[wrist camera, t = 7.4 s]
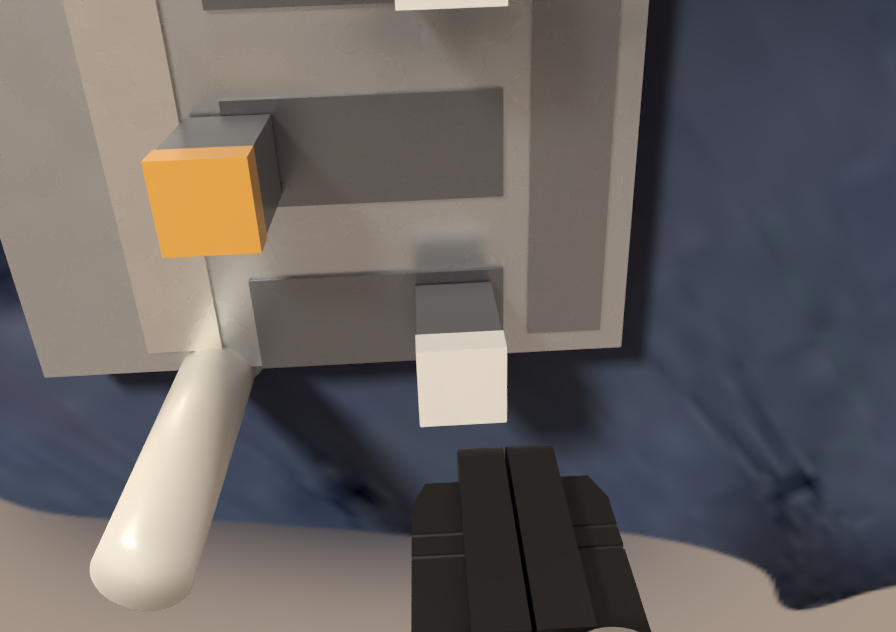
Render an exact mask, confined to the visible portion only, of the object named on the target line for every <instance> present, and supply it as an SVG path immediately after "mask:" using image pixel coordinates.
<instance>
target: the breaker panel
mask: <svg viewBox="0 0 896 632" xmlns="http://www.w3.org/2000/svg"><path fill="white" fill-rule="evenodd" d="M648 7H649V0H508V6H500V7H476V8H451V9H427V10H403V11H395V0H0V239H1V242H2V245H3V248H4V251H5V255H6V258H7V261H8V264H9V267H10V270H11V273H12V277H13V280H14V283H15V286H16V289H17V292H18V295H19V298H20V302H21V305H22V308H23V311H24V314H25V317H26V320H27V324H28V327H29V330H30V333H31V336H32V339H33V342H34V346H35V349H36V352H37V355H38V358H39V361H40V364H41V367H42V371H43V374H44V377H62V376H81V375H100V374H119V373H138V372H157V371H176V370H179V368H180V366H181V364H182V362H183V360H184V359H185V357H186V356H187V355H188V354H189V353H191V352H192V351H198V350H201V349H206V348H218V349H223V347H226V348H229V349H231V350H233V351H235V352H237V353H238V354H240V355H241V356H242V357H243V358H244V359H245V360H246V361H247V362H248V364H249V366H250V367H252V366H262V367H263V368H280V367H299V366H318V365H337V364H356V363H375V362H394V361H413V360H416V344H415V335H417V327H416V293H415V286H421V285H441V284H461V283H481V282H491V284H492V288H493V293H494V298H495V302H496V307H497V311H498V316H499V321H500V325H501V330H503V331H504V336H505V340H506V345H507V353H517V352H536V351H555V350H574V349H593V348H612V347H621V342H622V330H623V317H624V305H625V293H626V280H627V268H628V255H629V243H630V231H631V218H632V206H633V193H634V181H635V169H636V156H637V144H638V131H639V119H640V107H641V94H642V82H643V69H644V57H645V45H646V32H647V20H648ZM262 114H271V119H272V126H273V133H274V141H275V148H276V155H277V163H278V170H279V177H280V185H281V192H282V196H281V199H280V201H279V204H278V206H277V209H276V212H275V214H274V217H273V219H272V222H271V225H270V227H269V230H268V232H267V241H266V244H265V246H264V249H263V251H262V253H257V254H237V255H217V256H196V257H176V258H162V256H161V251H160V246H159V242H158V237H157V233H156V228H155V224H154V219H153V214H152V210H151V205H150V201H149V196H148V192H147V187H146V182H145V178H144V173H143V169H142V164H141V161H142V160H143V159H144V158H145V157H146V156H147V155H148V154H149V153H150V152H151V151H152V150H156V149H157V148H158V147H159V146H160V145H161V143H162V142H163V141H164V140H165V139H166V138H167V137H168V136H169V135H170V134H171V133H172V131H173V130H174V129H175V128H176V127H177V126H178V125H179V124H180V123H181V122H182V121H183V120H184V118H194V117H216V116H239V115H262Z"/></svg>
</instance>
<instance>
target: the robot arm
mask: <svg viewBox="0 0 896 632" xmlns="http://www.w3.org/2000/svg"><path fill="white" fill-rule="evenodd" d="M457 471H458V482H453V483H433V484H425V485H424V487H423V489H422V491H421V492H420V494H419V496H418V498H417V499H416V501H415V503H414V504H413V506H412V631H411V632H651V630H650V627H649V624H648V621H647V618H646V614H645V611H644V608H643V605H642V602H641V599H640V596H639V592H638V589H637V587H636V583H635V580H634V577H633V574H632V570H631V567H630V564H629V561H628V558H627V555H626V552H625V549H623V542H622V539H621V536H620V533H619V530H618V528H617V526H616V520H615V517H614V514H613V511H612V508H611V504H610V501H609V498H608V496H607V495H606V494H605V493H604V492H603V491H602V490H601V489H600V488H599V487H598V486H597V485H596V484H595V483H594V482H593V481H592V479H591V478H590V477H589V476H588V475H586V476H567V477H560V473H559V469H558V465H557V461H556V457H555V453H554V450H553V447H552V445H532V446H512V447H506V448H505V458H504V452H503V448H502V447H496V448H476V449H457Z"/></svg>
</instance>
